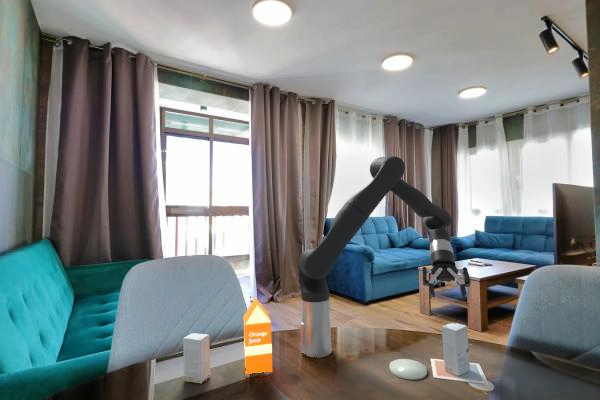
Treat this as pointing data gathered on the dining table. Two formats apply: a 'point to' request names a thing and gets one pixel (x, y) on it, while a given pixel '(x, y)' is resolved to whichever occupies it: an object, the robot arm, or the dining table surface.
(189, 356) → the skincare box
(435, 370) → the blue and orange card
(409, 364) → the coaster
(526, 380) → the dining table surface
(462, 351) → the skincare box
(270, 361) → the orange juice
